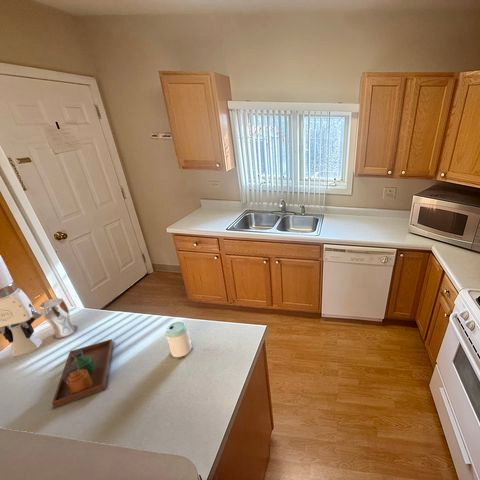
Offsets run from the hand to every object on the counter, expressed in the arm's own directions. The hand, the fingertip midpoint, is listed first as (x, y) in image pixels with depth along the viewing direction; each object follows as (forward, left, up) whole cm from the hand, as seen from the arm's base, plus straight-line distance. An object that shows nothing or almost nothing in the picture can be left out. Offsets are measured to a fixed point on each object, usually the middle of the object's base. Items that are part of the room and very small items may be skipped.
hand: (21, 337), depth 83 cm
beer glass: (+4, +17, -14) cm, 23 cm away
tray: (+15, -10, -14) cm, 23 cm away
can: (+44, -16, -14) cm, 49 cm away
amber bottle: (+15, -17, -14) cm, 26 cm away
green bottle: (+15, -11, -14) cm, 23 cm away
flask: (0, 0, -5) cm, 5 cm away
